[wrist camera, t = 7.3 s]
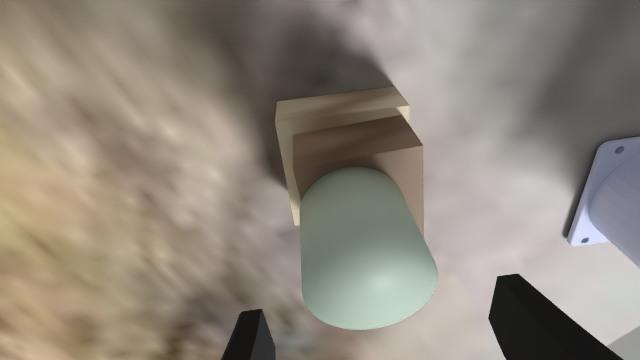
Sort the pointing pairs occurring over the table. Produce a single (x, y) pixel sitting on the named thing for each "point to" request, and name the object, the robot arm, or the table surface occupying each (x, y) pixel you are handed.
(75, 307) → the table surface
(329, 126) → the oak base block
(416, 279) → the pale green short cylinder
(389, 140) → the walnut top block
